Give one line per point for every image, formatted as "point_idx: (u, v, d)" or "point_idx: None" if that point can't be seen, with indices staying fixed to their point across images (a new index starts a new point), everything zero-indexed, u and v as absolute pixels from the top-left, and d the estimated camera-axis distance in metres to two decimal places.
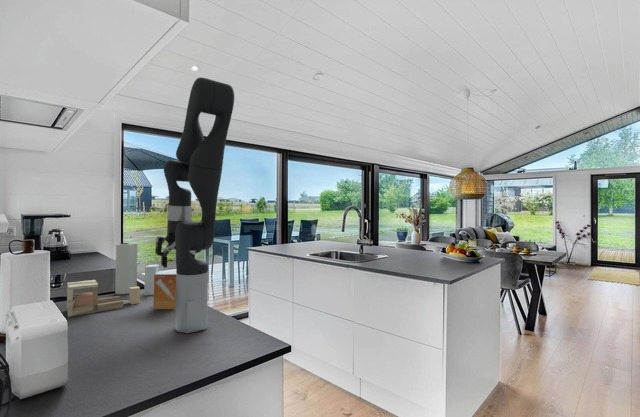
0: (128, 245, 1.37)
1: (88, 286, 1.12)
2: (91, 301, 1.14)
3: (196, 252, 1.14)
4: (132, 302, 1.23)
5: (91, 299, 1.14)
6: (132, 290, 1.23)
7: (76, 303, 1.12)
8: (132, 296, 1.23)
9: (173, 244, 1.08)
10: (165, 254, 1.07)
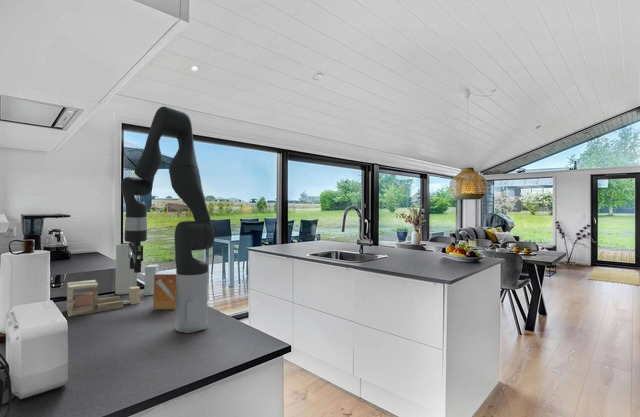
0: (128, 245, 1.37)
1: (88, 286, 1.12)
2: (91, 301, 1.14)
3: None
4: (132, 302, 1.23)
5: (91, 299, 1.14)
6: (132, 290, 1.23)
7: (76, 303, 1.12)
8: (132, 296, 1.23)
9: None
10: None
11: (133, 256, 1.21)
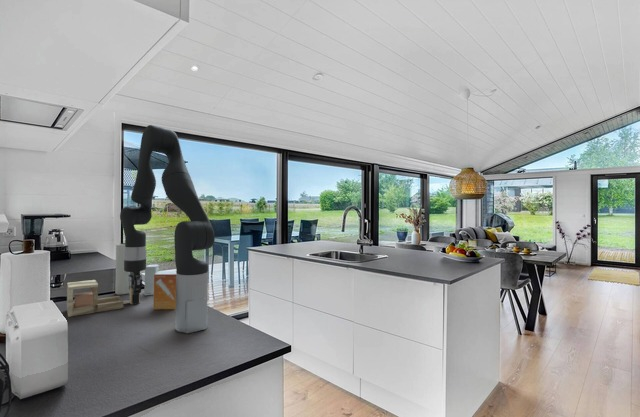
0: None
1: (88, 286, 1.12)
2: (91, 301, 1.14)
3: None
4: None
5: (91, 299, 1.14)
6: None
7: (76, 303, 1.12)
8: None
9: None
10: None
11: (132, 288, 1.22)
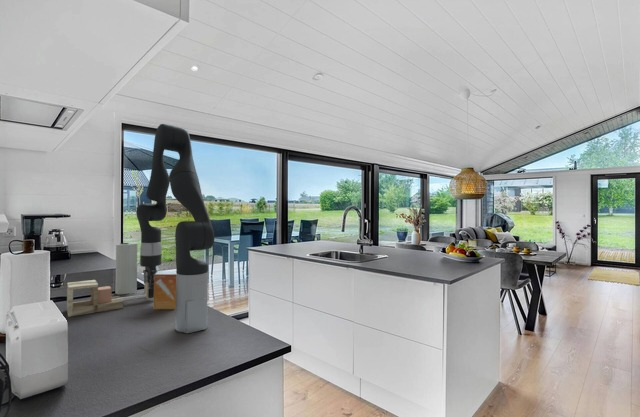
0: (128, 245, 1.37)
1: (88, 286, 1.12)
2: (110, 295, 1.18)
3: None
4: None
5: (109, 293, 1.18)
6: None
7: None
8: None
9: None
10: None
11: (148, 282, 1.26)
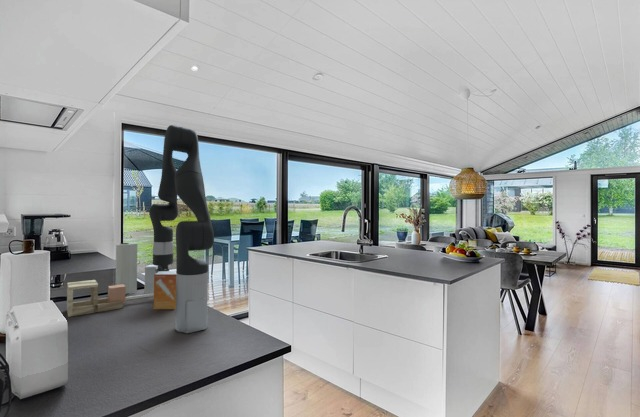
0: (128, 245, 1.37)
1: (88, 286, 1.12)
2: (124, 293, 1.21)
3: None
4: None
5: (124, 291, 1.21)
6: None
7: (110, 294, 1.18)
8: None
9: None
10: None
11: None
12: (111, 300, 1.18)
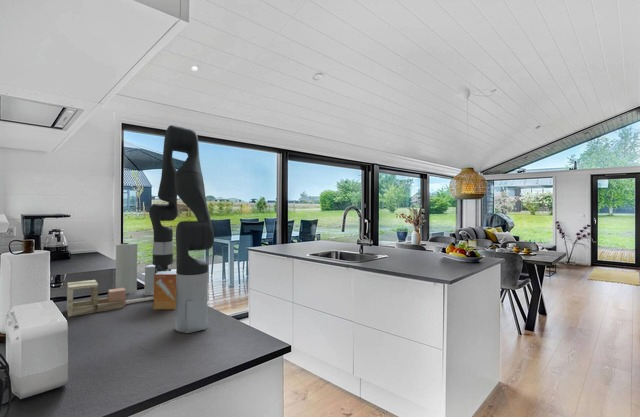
0: (128, 245, 1.37)
1: (88, 286, 1.12)
2: (124, 296, 1.21)
3: None
4: None
5: (124, 295, 1.21)
6: None
7: (110, 298, 1.18)
8: None
9: None
10: None
11: None
12: None
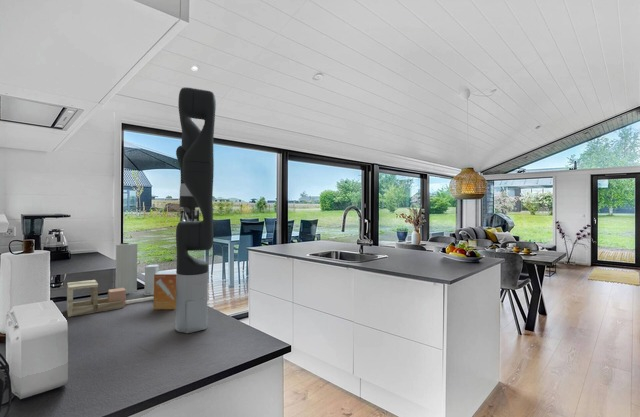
0: (128, 245, 1.37)
1: (88, 286, 1.12)
2: (124, 296, 1.21)
3: None
4: None
5: (124, 295, 1.21)
6: None
7: (110, 298, 1.18)
8: None
9: None
10: None
11: (189, 220, 1.25)
12: None
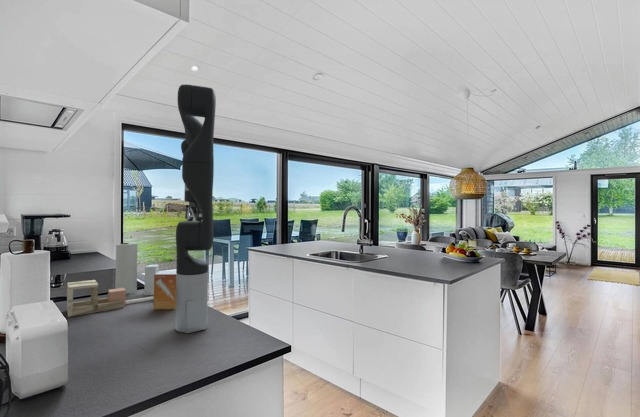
0: (128, 245, 1.37)
1: (88, 286, 1.12)
2: (124, 296, 1.21)
3: None
4: None
5: (124, 295, 1.21)
6: None
7: (110, 298, 1.18)
8: None
9: None
10: None
11: (194, 215, 1.25)
12: None
